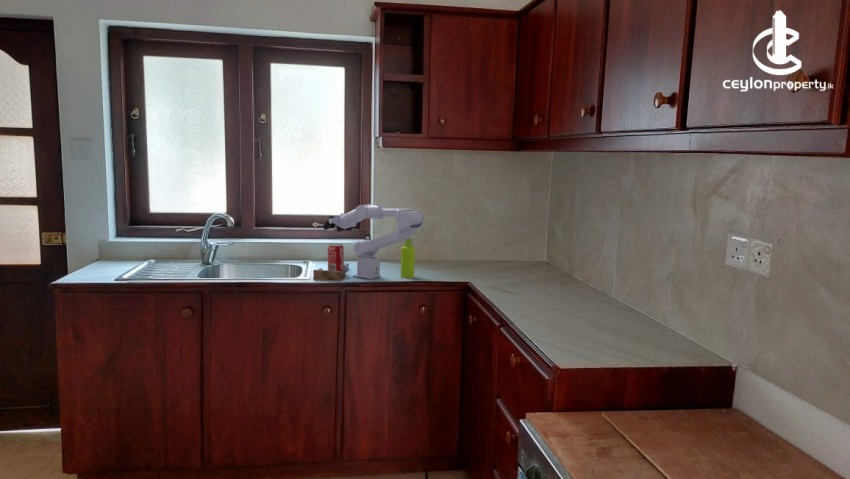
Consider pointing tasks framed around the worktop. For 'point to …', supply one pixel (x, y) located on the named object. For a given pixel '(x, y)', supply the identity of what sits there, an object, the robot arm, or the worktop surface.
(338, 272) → the walnut tray
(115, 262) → the worktop surface
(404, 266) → the soap dispenser
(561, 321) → the worktop surface
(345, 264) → the pusher block
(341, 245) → the soda can
